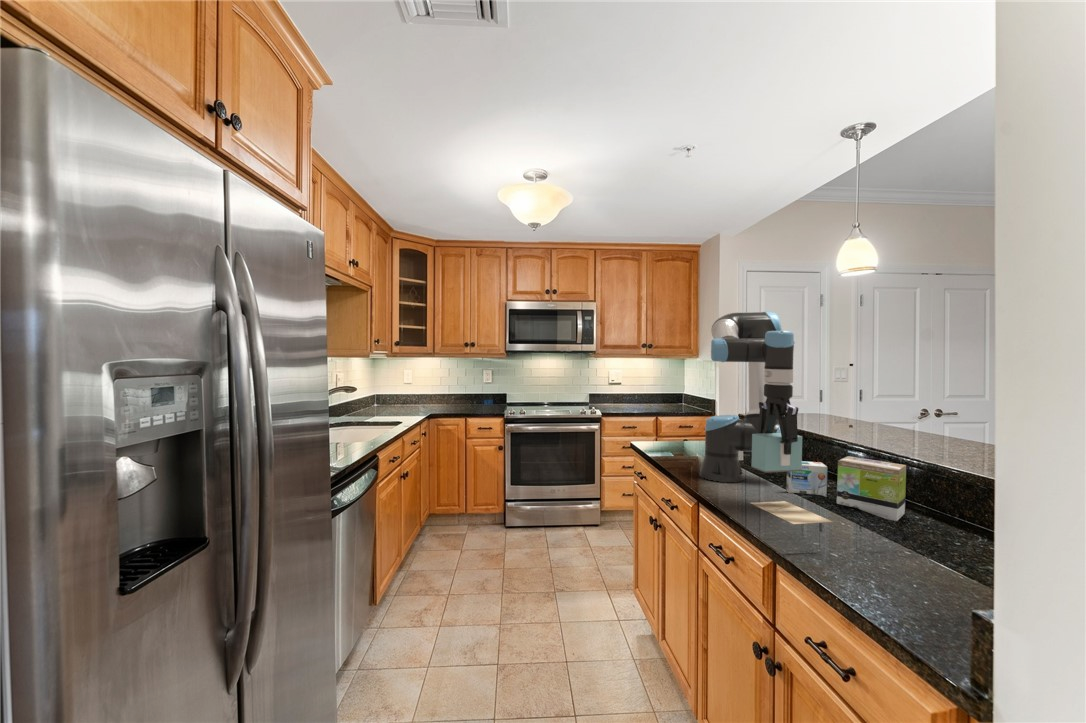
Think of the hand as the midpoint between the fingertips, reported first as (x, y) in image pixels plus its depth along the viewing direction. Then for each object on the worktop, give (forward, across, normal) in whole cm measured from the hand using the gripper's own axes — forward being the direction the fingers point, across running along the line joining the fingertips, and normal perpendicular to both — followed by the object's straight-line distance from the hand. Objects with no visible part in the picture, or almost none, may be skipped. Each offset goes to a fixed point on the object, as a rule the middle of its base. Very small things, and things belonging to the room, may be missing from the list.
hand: (776, 462), depth 135 cm
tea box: (+15, +6, +27) cm, 31 cm away
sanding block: (+2, 0, 0) cm, 2 cm away
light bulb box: (+15, -11, +20) cm, 28 cm away
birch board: (+14, +6, -1) cm, 15 cm away
